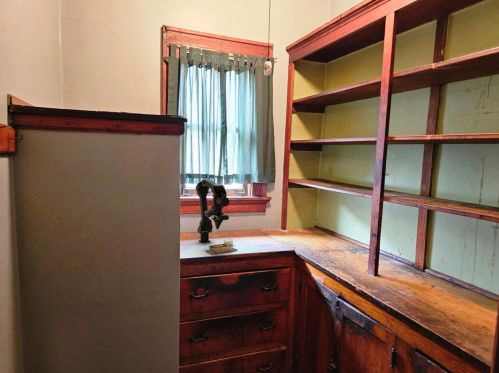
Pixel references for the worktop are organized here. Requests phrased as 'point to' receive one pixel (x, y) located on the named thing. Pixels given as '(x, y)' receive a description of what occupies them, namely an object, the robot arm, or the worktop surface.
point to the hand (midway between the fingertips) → (217, 229)
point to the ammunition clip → (219, 248)
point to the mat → (221, 251)
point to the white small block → (228, 242)
